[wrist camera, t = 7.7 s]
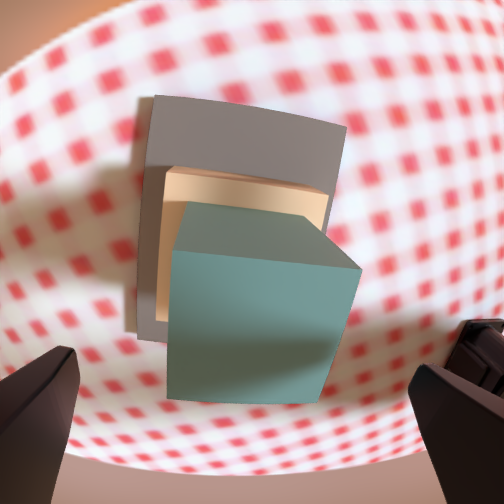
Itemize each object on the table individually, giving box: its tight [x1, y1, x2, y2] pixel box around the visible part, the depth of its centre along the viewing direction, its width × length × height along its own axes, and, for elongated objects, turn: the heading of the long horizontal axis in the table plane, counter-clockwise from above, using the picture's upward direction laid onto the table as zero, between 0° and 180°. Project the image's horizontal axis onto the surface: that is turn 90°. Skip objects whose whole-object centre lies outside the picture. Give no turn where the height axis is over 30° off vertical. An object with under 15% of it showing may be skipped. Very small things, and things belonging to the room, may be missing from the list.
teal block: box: [167, 201, 362, 404], centre depth 12 cm, size 5×5×6 cm
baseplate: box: [137, 95, 347, 343], centre depth 18 cm, size 10×14×1 cm
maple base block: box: [156, 166, 329, 322], centre depth 16 cm, size 7×7×3 cm
